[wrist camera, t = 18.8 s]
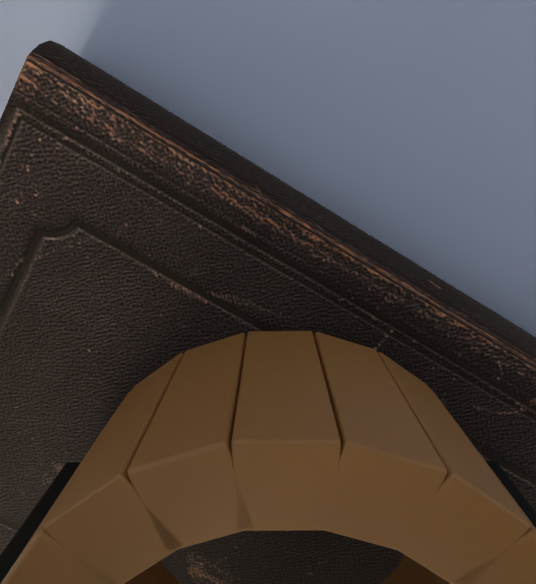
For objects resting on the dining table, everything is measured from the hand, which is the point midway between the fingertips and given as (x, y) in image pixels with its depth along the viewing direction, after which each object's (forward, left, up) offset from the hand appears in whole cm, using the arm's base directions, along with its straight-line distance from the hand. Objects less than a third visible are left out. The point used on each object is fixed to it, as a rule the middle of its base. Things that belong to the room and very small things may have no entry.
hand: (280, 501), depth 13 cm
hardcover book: (0, 0, -3) cm, 3 cm away
